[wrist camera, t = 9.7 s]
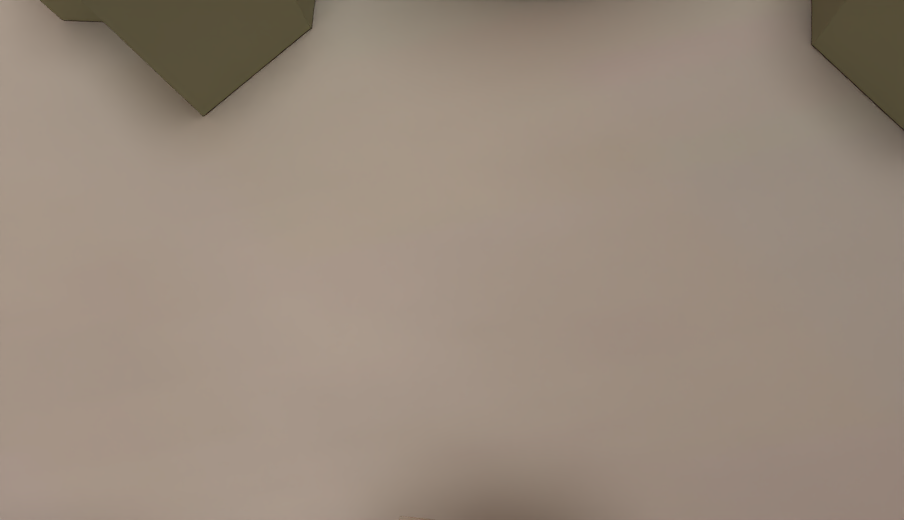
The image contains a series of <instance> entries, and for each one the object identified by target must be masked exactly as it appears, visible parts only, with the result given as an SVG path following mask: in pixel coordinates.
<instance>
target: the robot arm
mask: <svg viewBox="0 0 904 520" xmlns="http://www.w3.org/2000/svg"><path fill="white" fill-rule="evenodd" d="M399 520H433V519H423V518H414V517H404V516H400V518H399Z"/></svg>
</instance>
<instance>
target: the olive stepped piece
mask: <svg viewBox="0 0 904 520" xmlns="http://www.w3.org/2000/svg"><path fill="white" fill-rule="evenodd" d="M40 1H41V2H42V3H43V4H45V5H46V6H47V7H48V8H49V9H50V10H51V11H53V12H54V13H55V14H56V15H57V16H58V17H60V18H61V19H62V20H79V21H103V22H104V23H105V24H106V25H107V26H108V27H110V28H111V29H112V30H113V31H114V32H115V33H116V34H117V35H118V36H119V37H120V38H121V39H122V40H123V41H124V42H125V43H126V44H127V45H128V46H130V47H131V48H132V49H133V50H134V51H135V52H136V53H137V54H138V55H139V56H140V57H141V58H142V59H143V60H144V61H145V62H146V63H147V64H149V65H150V66H151V67H152V68H153V69H154V70H155V71H156V72H157V73H158V74H159V75H160V76H161V77H162V78H163V79H164V80H165V81H166V82H168V83H169V84H170V85H171V86H172V87H173V88H174V89H175V90H176V91H177V92H178V93H179V94H180V95H181V96H182V97H183V98H184V99H185V100H187V101H188V102H189V103H190V104H191V105H192V106H193V107H194V108H195V109H196V110H197V111H198V112H199V113H200V114H201V115H202V116H204V115H205V114H206V113H208V112H209V111H210V110H211V109H213V108H214V107H215V106H216V105H217V104H219V103H220V102H221V101H222V100H223V99H225V98H226V97H227V96H228V95H230V94H231V93H232V92H233V91H234V90H236V89H237V88H238V87H239V86H241V85H242V84H243V83H244V82H245V81H247V80H248V79H249V78H250V77H251V76H253V75H254V74H255V73H256V72H258V71H259V70H260V69H261V68H262V67H264V66H265V65H266V64H267V63H269V62H270V61H271V60H272V59H273V58H275V57H276V56H277V55H278V54H280V53H281V52H282V51H283V50H284V49H286V48H287V47H288V46H289V45H290V44H292V43H293V42H294V41H295V40H297V39H298V38H299V37H300V36H301V35H303V34H304V33H305V32H306V31H308V30H309V29H310V28H312V19H313V11H314V3H315V0H40ZM812 45H813V46H814V47H815V48H817V49H818V50H819V51H820V52H821V53H822V54H823V55H824V56H825V57H826V58H827V59H828V60H829V61H831V62H832V63H833V64H834V65H835V66H836V67H837V68H838V69H839V70H840V71H841V72H842V73H843V74H845V75H846V76H847V77H848V78H849V79H850V80H851V81H852V82H853V83H854V84H855V85H856V86H857V87H858V88H860V89H861V90H862V91H863V92H864V93H865V94H866V95H867V96H868V97H869V98H870V99H871V100H872V101H874V102H875V103H876V104H877V105H878V106H879V107H880V108H881V109H882V110H883V111H884V112H885V113H886V114H888V115H889V116H890V117H891V118H892V119H893V120H894V121H895V122H896V123H897V124H898V125H899V126H900V127H902V128H903V129H904V0H812Z"/></svg>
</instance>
